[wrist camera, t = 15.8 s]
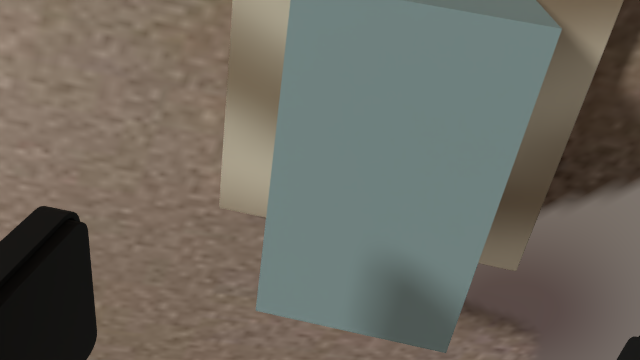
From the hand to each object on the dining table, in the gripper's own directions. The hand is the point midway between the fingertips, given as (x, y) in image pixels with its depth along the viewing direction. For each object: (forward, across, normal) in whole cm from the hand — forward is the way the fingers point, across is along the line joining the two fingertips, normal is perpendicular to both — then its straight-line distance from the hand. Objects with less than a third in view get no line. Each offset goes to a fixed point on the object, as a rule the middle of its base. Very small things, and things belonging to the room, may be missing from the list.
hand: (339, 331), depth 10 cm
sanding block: (+13, -1, 0) cm, 13 cm away
